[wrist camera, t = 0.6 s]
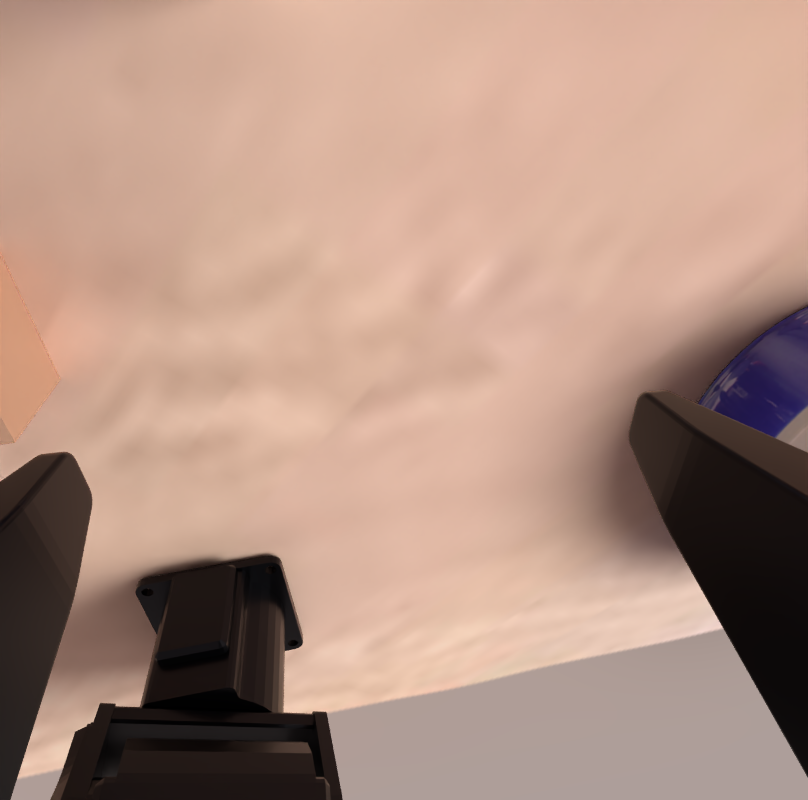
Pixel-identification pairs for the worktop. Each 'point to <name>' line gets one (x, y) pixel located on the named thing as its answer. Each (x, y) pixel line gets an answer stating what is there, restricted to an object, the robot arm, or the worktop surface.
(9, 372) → the light brown block
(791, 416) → the dog bowl
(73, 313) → the worktop surface
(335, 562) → the worktop surface
